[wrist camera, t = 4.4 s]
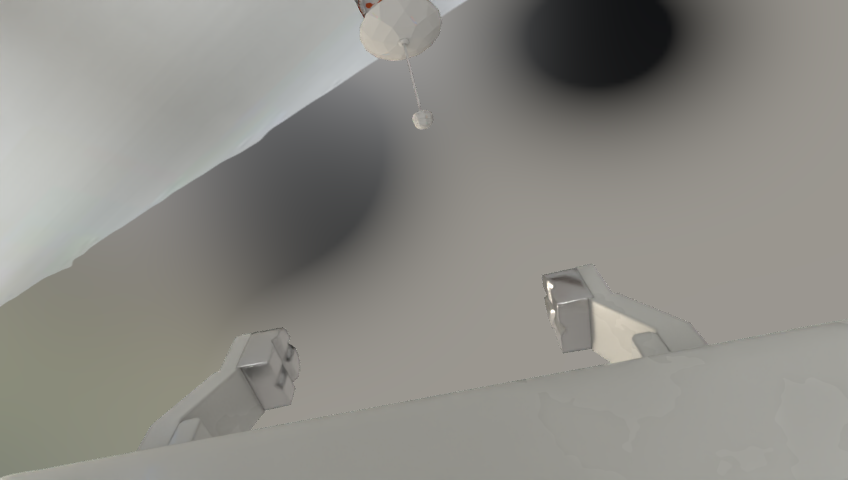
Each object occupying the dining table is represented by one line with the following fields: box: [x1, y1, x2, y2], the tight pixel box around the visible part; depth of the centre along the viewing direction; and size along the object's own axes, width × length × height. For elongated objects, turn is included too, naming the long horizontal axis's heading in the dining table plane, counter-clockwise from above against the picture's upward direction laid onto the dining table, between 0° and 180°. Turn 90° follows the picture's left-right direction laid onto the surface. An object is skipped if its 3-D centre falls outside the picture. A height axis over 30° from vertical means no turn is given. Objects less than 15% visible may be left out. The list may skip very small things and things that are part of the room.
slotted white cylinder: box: [355, 0, 442, 130], centre depth 46 cm, size 10×12×25 cm
